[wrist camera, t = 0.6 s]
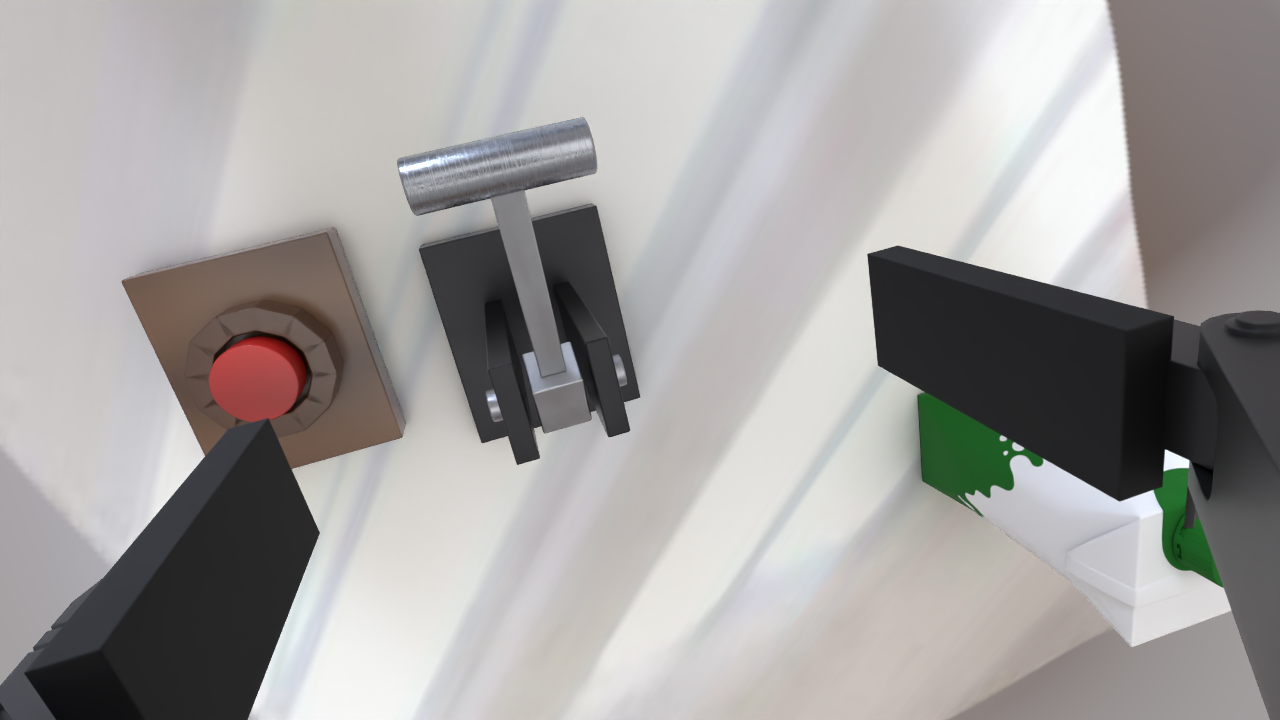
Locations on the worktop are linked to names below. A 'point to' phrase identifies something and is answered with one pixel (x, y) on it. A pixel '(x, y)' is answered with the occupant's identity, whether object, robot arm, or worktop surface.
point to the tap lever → (516, 236)
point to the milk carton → (1081, 525)
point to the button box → (285, 310)
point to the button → (257, 378)
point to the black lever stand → (497, 332)
